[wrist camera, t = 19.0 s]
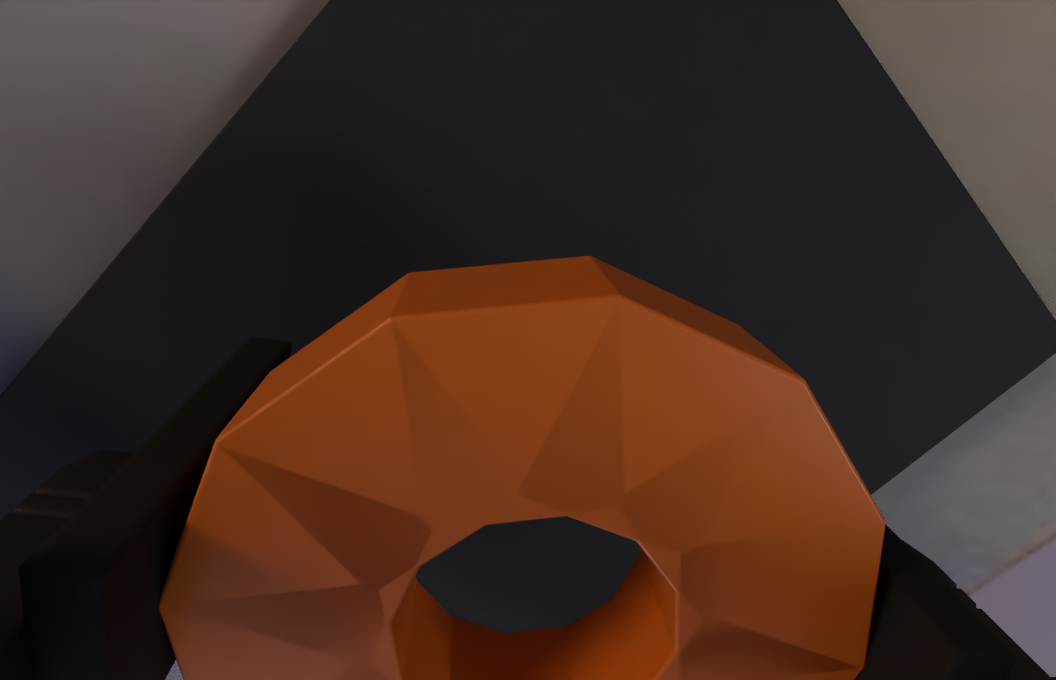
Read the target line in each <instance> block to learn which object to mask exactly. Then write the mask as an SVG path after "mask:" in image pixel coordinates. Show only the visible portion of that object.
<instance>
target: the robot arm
mask: <svg viewBox="0 0 1056 680" xmlns="http://www.w3.org/2000/svg"><path fill="white" fill-rule="evenodd" d="M291 350H292V342H288V341H280V340H273V339H266V338H259V337H251V338H250V339H249V340H248V341H247V342H245V343H244V344H243V345H242V346H241V347H240V348H239V349H238V350H237V351H236V352H235V353H234V354H233V355H232V356H231V357H230V358H229V359H228V360H227V361H226V362H225V363H224V364H223V365H222V366H221V367H220V368H219V369H218V370H217V371H216V372H215V373H214V374H213V375H212V376H211V377H210V378H209V379H208V380H207V381H206V382H205V383H204V384H203V385H202V386H201V387H200V388H199V389H198V390H197V391H196V392H195V393H194V394H193V395H192V396H191V397H190V398H189V399H188V400H187V401H186V402H185V403H184V404H183V405H182V406H181V407H180V408H179V409H178V410H177V411H176V412H175V413H174V414H173V415H172V416H171V417H170V418H169V419H168V420H167V421H166V422H165V423H164V424H163V425H162V426H161V427H160V428H159V429H158V430H157V431H156V432H155V433H154V434H153V435H152V436H151V437H150V438H149V439H148V440H147V441H146V442H145V443H144V444H143V445H142V446H141V447H140V448H139V449H138V450H137V451H136V452H134V453H124V452H115V451H106V450H98V451H96V452H94V453H92V454H89V455H87V456H85V457H83V458H81V459H79V460H76V461H74V462H72V463H70V464H68V465H65V466H63V467H62V468H61V469H60V470H58V471H57V472H56V473H55V474H54V475H53V476H51V477H50V478H49V479H48V480H47V481H46V482H44V483H43V484H42V485H41V486H40V487H39V488H37V491H36V493H35V494H30V495H29V496H28V497H27V498H26V499H25V500H23V501H22V502H21V503H20V504H19V505H17V506H16V507H15V509H14V512H13V513H8V514H7V515H6V516H5V517H3V518H2V519H1V520H0V680H165V678H166V676H167V675H168V673H169V671H170V669H171V667H172V666H173V664H174V662H175V660H176V657H175V654H174V651H173V648H172V646H171V643H170V640H169V637H168V634H167V632H166V629H165V626H164V623H163V621H162V618H161V615H160V612H159V601H160V596H161V591H162V588H163V585H164V583H165V580H166V577H167V574H168V571H169V569H170V566H171V563H172V560H173V557H174V555H175V552H176V549H177V546H178V543H179V541H180V538H181V535H182V532H183V529H184V527H185V524H186V521H187V518H188V515H189V513H190V510H191V507H192V504H193V501H194V498H195V496H196V493H197V490H198V487H199V484H200V482H201V479H202V476H203V473H204V470H205V468H206V465H207V462H208V459H209V456H210V454H211V451H212V448H213V445H214V442H215V440H216V438H217V437H218V436H219V434H220V433H221V432H222V431H223V429H224V428H225V427H226V426H227V425H228V423H229V422H230V421H231V420H232V418H233V417H234V416H235V415H236V413H237V412H238V411H239V410H240V408H241V407H242V406H243V405H244V403H245V402H246V401H247V400H248V398H249V397H250V396H251V395H252V394H253V392H254V391H255V390H256V389H257V387H258V386H259V385H260V384H261V382H262V381H263V380H264V379H265V377H266V376H267V375H268V374H269V372H270V371H272V370H273V369H274V368H276V367H277V366H279V365H280V364H281V363H283V362H284V361H286V360H287V359H288V358H290V357H291ZM855 680H1056V677H1050V676H1049V675H1048V674H1046V672H1045V671H1044V670H1043V669H1041V668H1040V667H1039V666H1038V665H1037V664H1036V663H1035V662H1034V661H1033V660H1032V659H1031V658H1030V657H1029V656H1028V655H1027V654H1026V653H1025V652H1024V651H1023V650H1022V649H1021V648H1020V647H1019V646H1018V645H1017V644H1016V643H1015V642H1014V641H1013V640H1012V639H1011V638H1010V637H1009V636H1008V635H1007V634H1006V633H1005V632H1004V631H1003V630H1002V629H1001V628H1000V627H999V626H998V625H997V624H996V623H995V622H994V621H993V620H992V619H991V618H990V617H989V616H988V615H987V614H986V613H985V612H984V611H983V610H982V609H977V608H976V603H975V602H974V601H973V600H972V599H971V598H970V597H969V596H968V595H967V594H966V593H965V592H964V591H963V590H962V589H957V588H956V584H955V583H954V582H953V581H952V580H951V579H950V578H949V577H948V576H947V575H946V574H945V573H944V572H943V571H942V570H941V569H940V568H939V567H938V566H937V565H936V564H935V563H934V562H933V561H932V560H930V559H929V558H927V557H926V556H925V555H923V554H922V553H920V552H919V551H917V550H916V549H914V548H913V547H911V546H910V545H909V544H907V543H906V542H904V541H903V540H901V539H900V538H899V537H898V536H897V535H896V534H895V533H894V532H893V531H892V530H891V529H890V528H889V527H888V526H887V525H886V524H885V531H884V538H883V545H882V552H881V559H880V566H879V573H878V580H877V587H876V594H875V601H874V608H873V615H872V622H871V629H870V636H869V643H868V650H867V657H866V663H865V666H864V668H863V669H862V671H861V672H860V673H859V675H858V676H857V677H856V678H855Z"/></svg>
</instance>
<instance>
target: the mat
mask: <svg viewBox="0 0 1056 680" xmlns="http://www.w3.org/2000/svg"><path fill="white" fill-rule="evenodd" d="M580 256H592V257H594V258H596V259H599V260H601V261H603V262H605V263H607V264H609V265H611V266H614V267H616V268H618V269H620V270H622V271H624V272H626V273H629V274H631V275H633V276H635V277H637V278H639V279H641V280H644V281H646V282H648V283H650V284H652V285H654V286H656V287H659V288H661V289H663V290H665V291H667V292H669V293H671V294H674V295H676V296H678V297H680V298H682V299H684V300H686V301H689V302H691V303H693V304H695V305H697V306H699V307H701V308H704V309H706V310H708V311H710V312H712V313H714V314H716V315H719V316H721V317H723V318H725V319H727V320H729V321H731V322H734V323H736V324H738V325H739V326H741V327H742V328H743V329H744V330H745V331H747V332H748V333H749V334H750V335H752V336H753V337H754V338H755V339H756V340H758V341H759V342H760V343H761V344H762V345H764V346H765V347H766V348H767V349H769V350H770V351H771V352H772V353H773V354H775V355H776V356H777V357H778V358H780V359H781V360H782V361H783V362H784V363H786V364H787V365H788V366H789V367H791V368H792V369H793V370H794V371H795V372H797V373H798V374H799V375H800V376H802V377H803V378H804V379H805V381H806V382H807V384H808V386H809V388H810V389H811V391H812V393H813V395H814V396H815V398H816V400H817V402H818V403H819V405H820V407H821V409H822V410H823V412H824V414H825V416H826V417H827V419H828V421H829V423H830V424H831V426H832V428H833V430H834V431H835V433H836V435H837V437H838V438H839V440H840V442H841V444H842V445H843V447H844V449H845V451H846V452H847V454H848V456H849V458H850V459H851V461H852V463H853V465H854V466H855V468H856V470H857V472H858V473H859V475H860V477H861V479H862V480H863V482H864V484H865V486H866V487H867V489H868V491H869V493H870V494H873V493H874V492H875V491H876V490H878V489H879V488H880V487H882V486H883V485H884V484H886V483H887V482H888V481H890V480H891V479H892V478H893V477H895V476H896V475H897V474H899V473H900V472H901V471H903V470H904V469H905V468H906V467H908V466H909V465H910V464H912V463H913V462H914V461H916V460H917V459H918V458H919V457H921V456H922V455H923V454H925V453H926V452H927V451H929V450H930V449H931V448H932V447H934V446H935V445H936V444H938V443H939V442H940V441H942V440H943V439H944V438H946V437H947V436H948V435H949V434H951V433H952V432H953V431H955V430H956V429H957V428H959V427H960V426H961V425H962V424H964V423H965V422H966V421H968V420H969V419H970V418H972V417H973V416H974V415H975V414H977V413H978V412H979V411H981V410H982V409H983V408H985V407H986V406H987V405H989V404H990V403H991V402H992V401H994V400H995V399H996V398H998V397H999V396H1000V395H1002V394H1003V393H1004V392H1005V391H1007V390H1008V389H1009V388H1011V387H1012V386H1013V385H1015V384H1016V383H1017V382H1018V381H1020V380H1021V379H1022V378H1024V377H1025V376H1026V375H1028V374H1029V373H1030V372H1031V371H1033V370H1034V369H1035V368H1037V367H1038V366H1039V365H1041V364H1042V363H1043V362H1045V361H1046V360H1047V359H1048V358H1050V357H1051V356H1052V355H1054V354H1055V353H1056V320H1055V319H1054V317H1053V316H1052V315H1051V313H1050V312H1049V310H1048V309H1047V307H1046V306H1045V304H1044V303H1043V301H1042V300H1041V298H1040V297H1039V296H1038V294H1037V293H1036V291H1035V290H1034V288H1033V287H1032V285H1031V284H1030V282H1029V281H1028V279H1027V278H1026V276H1025V275H1024V274H1023V272H1022V271H1021V269H1020V268H1019V266H1018V265H1017V263H1016V262H1015V260H1014V259H1013V257H1012V256H1011V255H1010V253H1009V252H1008V250H1007V249H1006V247H1005V246H1004V244H1003V243H1002V241H1001V240H1000V238H999V237H998V235H997V234H996V233H995V231H994V230H993V228H992V227H991V225H990V224H989V222H988V221H987V219H986V218H985V216H984V215H983V213H982V212H981V211H980V209H979V208H978V206H977V205H976V203H975V202H974V200H973V199H972V197H971V196H970V194H969V193H968V192H967V190H966V189H965V187H964V186H963V184H962V183H961V181H960V180H959V178H958V177H957V175H956V174H955V172H954V171H953V170H952V168H951V167H950V165H949V164H948V162H947V161H946V159H945V158H944V156H943V155H942V153H941V152H940V151H939V149H938V148H937V146H936V145H935V143H934V142H933V140H932V139H931V137H930V136H929V134H928V133H927V131H926V130H925V129H924V127H923V126H922V124H921V123H920V121H919V120H918V118H917V117H916V115H915V114H914V112H913V111H912V110H911V108H910V107H909V105H908V104H907V102H906V101H905V99H904V98H903V96H902V95H901V93H900V92H899V90H898V89H897V88H896V86H895V85H894V83H893V82H892V80H891V79H890V77H889V76H888V74H887V73H886V71H885V70H884V69H883V67H882V66H881V64H880V63H879V61H878V60H877V58H876V57H875V55H874V54H873V52H872V51H871V49H870V48H869V47H868V45H867V44H866V42H865V41H864V39H863V38H862V36H861V35H860V33H859V32H858V30H857V29H856V28H855V26H854V25H853V23H852V22H851V20H850V19H849V17H848V16H847V14H846V13H845V11H844V10H843V8H842V7H841V6H840V4H839V3H838V1H837V0H330V1H329V2H328V3H327V5H326V6H325V7H324V8H323V9H322V11H321V12H320V13H319V14H318V15H317V17H316V18H315V19H314V20H313V21H312V23H311V24H310V25H309V26H308V27H307V29H306V30H305V31H304V32H303V33H302V35H301V36H300V37H299V38H298V39H297V41H296V42H295V43H294V44H293V45H292V47H291V48H290V49H289V50H288V51H287V53H286V54H285V55H284V56H283V57H282V59H281V60H280V61H279V62H278V63H277V65H276V66H275V67H274V68H273V69H272V71H271V72H270V73H269V74H268V75H267V77H266V78H265V79H264V80H263V81H262V83H261V84H260V85H259V86H258V87H257V89H256V90H255V91H254V92H253V93H252V95H251V96H250V97H249V98H248V99H247V101H246V102H245V103H244V104H243V105H242V107H241V108H240V109H239V110H238V111H237V113H236V114H235V115H234V116H233V117H232V119H231V120H230V121H229V122H228V123H227V125H226V126H225V127H224V128H223V129H222V131H221V132H220V133H219V134H218V135H217V137H216V138H215V139H214V140H213V141H212V143H211V144H210V145H209V146H208V147H207V149H206V150H205V151H204V152H203V153H202V155H201V156H200V157H199V158H198V159H197V161H196V162H195V163H194V164H193V165H192V167H191V168H190V169H189V170H188V171H187V173H186V174H185V175H184V176H183V177H182V179H181V180H180V181H179V182H178V183H177V185H176V186H175V187H174V188H173V189H172V191H171V192H170V193H169V194H168V195H167V197H166V198H165V199H164V200H163V201H162V203H161V204H160V205H159V206H158V207H157V209H156V210H155V211H154V212H153V213H152V215H151V216H150V217H149V218H148V219H147V221H146V222H145V223H144V224H143V225H142V227H141V228H140V229H139V230H138V231H137V233H136V234H135V235H134V236H133V237H132V239H131V240H130V241H129V242H128V243H127V245H126V246H125V247H124V248H123V249H122V251H121V252H120V253H119V254H118V255H117V257H116V258H115V259H114V260H113V261H112V263H111V264H110V265H109V266H108V267H107V269H106V270H105V271H104V272H103V273H102V275H101V276H100V277H99V278H98V279H97V281H96V282H95V283H94V284H93V285H92V287H91V288H90V289H89V290H88V291H87V293H86V294H85V295H84V296H83V297H82V299H81V300H80V301H79V302H78V303H77V305H76V306H75V307H74V308H73V309H72V311H71V312H70V313H69V314H68V315H67V317H66V318H65V319H64V320H63V321H62V323H61V324H60V325H59V326H58V327H57V329H56V330H55V331H54V332H53V333H52V335H51V336H50V337H49V338H48V339H47V341H46V342H45V343H44V344H43V345H42V347H41V348H40V349H39V350H38V351H37V353H36V354H35V355H34V356H33V357H32V359H31V360H30V361H29V362H28V363H27V365H26V366H25V367H24V368H23V369H22V371H21V372H20V373H19V374H18V375H17V377H16V378H15V379H14V380H13V381H12V383H11V384H10V385H9V386H8V387H7V389H6V390H5V391H4V392H3V393H2V395H1V396H0V520H1V519H2V518H3V517H5V516H6V515H7V514H8V513H13V512H14V509H15V507H16V506H17V505H19V504H20V503H21V502H22V501H23V500H25V499H26V498H27V497H28V496H29V495H30V494H35V493H36V491H37V488H39V487H40V486H41V485H42V484H43V483H44V482H46V481H47V480H48V479H49V478H50V477H51V476H53V475H54V474H55V473H56V472H57V471H58V470H60V469H61V468H62V467H63V466H65V465H68V464H70V463H72V462H74V461H76V460H79V459H81V458H83V457H85V456H87V455H89V454H92V453H94V452H96V451H98V450H106V451H115V452H124V453H134V452H136V451H137V450H138V449H139V448H140V447H141V446H142V445H143V444H144V443H145V442H146V441H147V440H148V439H149V438H150V437H151V436H152V435H153V434H154V433H155V432H156V431H157V430H158V429H159V428H160V427H161V426H162V425H163V424H164V423H165V422H166V421H167V420H168V419H169V418H170V417H171V416H172V415H173V414H174V413H175V412H176V411H177V410H178V409H179V408H180V407H181V406H182V405H183V404H184V403H185V402H186V401H187V400H188V399H189V398H190V397H191V396H192V395H193V394H194V393H195V392H196V391H197V390H198V389H199V388H200V387H201V386H202V385H203V384H204V383H205V382H206V381H207V380H208V379H209V378H210V377H211V376H212V375H213V374H214V373H215V372H216V371H217V370H218V369H219V368H220V367H221V366H222V365H223V364H224V363H225V362H226V361H227V360H228V359H229V358H230V357H231V356H232V355H233V354H234V353H235V352H236V351H237V350H238V349H239V348H240V347H241V346H242V345H243V344H244V343H245V342H247V341H248V340H249V339H250V338H251V337H259V338H266V339H273V340H280V341H288V342H292V350H291V356H293V355H294V354H295V353H297V352H298V351H300V350H301V349H302V348H304V347H305V346H307V345H308V344H309V343H311V342H312V341H314V340H315V339H317V338H318V337H319V336H321V335H322V334H324V333H325V332H326V331H328V330H329V329H331V328H332V327H333V326H335V325H336V324H338V323H339V322H340V321H342V320H343V319H345V318H346V317H347V316H349V315H350V314H352V313H353V312H354V311H356V310H357V309H359V308H360V307H361V306H363V305H364V304H366V303H367V302H368V301H370V300H371V299H373V298H374V297H375V296H377V295H378V294H380V293H381V292H382V291H384V290H385V289H387V288H388V287H389V286H391V285H392V284H394V283H395V282H396V281H398V280H399V279H401V278H402V277H403V276H405V275H406V274H408V273H411V272H420V271H430V270H441V269H452V268H463V267H473V266H484V265H495V264H505V263H516V262H527V261H537V260H548V259H559V258H569V257H580ZM639 555H640V546H639V544H638V543H637V542H636V541H634V540H631V539H628V538H626V537H623V536H620V535H617V534H615V533H612V532H609V531H607V530H604V529H601V528H598V527H596V526H593V525H590V524H587V523H585V522H582V521H579V520H576V519H574V518H571V517H568V516H563V517H554V518H545V519H536V520H527V521H518V522H509V523H500V524H491V525H485V526H484V527H482V528H480V529H479V530H477V531H476V532H474V533H472V534H471V535H469V536H468V537H466V538H465V539H463V540H461V541H460V542H458V543H457V544H455V545H453V546H452V547H450V548H449V549H447V550H445V551H444V552H442V553H441V554H439V555H438V556H436V557H434V558H433V559H431V560H430V561H428V562H426V563H425V564H423V565H422V566H420V568H419V570H418V572H417V574H416V579H417V581H418V582H419V583H420V584H421V585H422V586H423V587H424V588H425V589H426V590H427V591H428V592H429V593H430V594H431V595H432V596H433V597H434V598H435V599H436V601H437V602H438V603H439V604H440V605H441V606H442V607H443V608H444V609H445V610H446V611H447V612H448V613H449V614H450V615H451V616H452V617H455V618H458V619H461V620H465V621H468V622H471V623H474V624H477V625H481V626H484V627H487V628H490V629H493V630H496V631H500V632H503V633H512V632H520V631H529V630H537V629H546V628H554V627H562V626H568V625H569V624H571V623H573V622H574V621H576V620H578V619H579V618H581V617H583V616H584V615H586V614H588V613H590V612H591V611H593V610H595V609H596V608H598V607H600V606H601V605H603V604H605V603H607V602H608V601H610V600H612V598H613V597H614V595H615V593H616V592H617V590H618V589H619V587H620V586H621V584H622V582H623V581H624V579H625V578H626V576H627V574H628V573H629V571H630V570H631V568H632V566H633V565H634V563H635V562H636V560H637V558H638V557H639Z"/></svg>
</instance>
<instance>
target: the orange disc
mask: <svg viewBox="0 0 1056 680" xmlns="http://www.w3.org/2000/svg"><path fill="white" fill-rule="evenodd" d="M563 516H568V517H571V518H574V519H576V520H579V521H582V522H585V523H587V524H590V525H593V526H596V527H598V528H601V529H604V530H607V531H609V532H612V533H615V534H617V535H620V536H623V537H626V538H628V539H631V540H634V541H636V542H637V543H638V544H639V546H640V555H639V557H638V558H637V560H636V562H635V563H634V565H633V566H632V568H631V570H630V571H629V573H628V574H627V576H626V578H625V579H624V581H623V582H622V584H621V586H620V587H619V589H618V590H617V592H616V593H615V595H614V597H613V598H612V600H610V601H608V602H607V603H605V604H603V605H601V606H600V607H598V608H596V609H595V610H593V611H591V612H590V613H588V614H586V615H584V616H583V617H581V618H579V619H578V620H576V621H574V622H573V623H571V624H569V625H568V626H562V627H554V628H546V629H537V630H529V631H520V632H512V633H503V632H500V631H496V630H493V629H490V628H487V627H484V626H481V625H477V624H474V623H471V622H468V621H465V620H461V619H458V618H455V617H452V616H451V615H450V614H449V613H448V612H447V611H446V610H445V609H444V608H443V607H442V606H441V605H440V604H439V603H438V602H437V601H436V599H435V598H434V597H433V596H432V595H431V594H430V593H429V592H428V591H427V590H426V589H425V588H424V587H423V586H422V585H421V584H420V583H419V582H418V581H417V579H416V574H417V572H418V570H419V568H420V566H422V565H423V564H425V563H426V562H428V561H430V560H431V559H433V558H434V557H436V556H438V555H439V554H441V553H442V552H444V551H445V550H447V549H449V548H450V547H452V546H453V545H455V544H457V543H458V542H460V541H461V540H463V539H465V538H466V537H468V536H469V535H471V534H472V533H474V532H476V531H477V530H479V529H480V528H482V527H484V526H485V525H491V524H500V523H509V522H518V521H527V520H536V519H545V518H554V517H563ZM885 524H886V523H885V519H884V517H883V515H882V514H881V512H880V510H879V508H878V507H877V505H876V503H875V501H874V500H873V498H872V496H871V494H870V493H869V491H868V489H867V487H866V486H865V484H864V482H863V480H862V479H861V477H860V475H859V473H858V472H857V470H856V468H855V466H854V465H853V463H852V461H851V459H850V458H849V456H848V454H847V452H846V451H845V449H844V447H843V445H842V444H841V442H840V440H839V438H838V437H837V435H836V433H835V431H834V430H833V428H832V426H831V424H830V423H829V421H828V419H827V417H826V416H825V414H824V412H823V410H822V409H821V407H820V405H819V403H818V402H817V400H816V398H815V396H814V395H813V393H812V391H811V389H810V388H809V386H808V384H807V382H806V381H805V379H804V378H803V377H802V376H800V375H799V374H798V373H797V372H795V371H794V370H793V369H792V368H791V367H789V366H788V365H787V364H786V363H784V362H783V361H782V360H781V359H780V358H778V357H777V356H776V355H775V354H773V353H772V352H771V351H770V350H769V349H767V348H766V347H765V346H764V345H762V344H761V343H760V342H759V341H758V340H756V339H755V338H754V337H753V336H752V335H750V334H749V333H748V332H747V331H745V330H744V329H743V328H742V327H741V326H739V325H738V324H736V323H734V322H731V321H729V320H727V319H725V318H723V317H721V316H719V315H716V314H714V313H712V312H710V311H708V310H706V309H704V308H701V307H699V306H697V305H695V304H693V303H691V302H689V301H686V300H684V299H682V298H680V297H678V296H676V295H674V294H671V293H669V292H667V291H665V290H663V289H661V288H659V287H656V286H654V285H652V284H650V283H648V282H646V281H644V280H641V279H639V278H637V277H635V276H633V275H631V274H629V273H626V272H624V271H622V270H620V269H618V268H616V267H614V266H611V265H609V264H607V263H605V262H603V261H601V260H599V259H596V258H594V257H592V256H580V257H569V258H559V259H548V260H537V261H527V262H516V263H505V264H495V265H484V266H473V267H463V268H452V269H441V270H430V271H420V272H411V273H408V274H406V275H405V276H403V277H402V278H401V279H399V280H398V281H396V282H395V283H394V284H392V285H391V286H389V287H388V288H387V289H385V290H384V291H382V292H381V293H380V294H378V295H377V296H375V297H374V298H373V299H371V300H370V301H368V302H367V303H366V304H364V305H363V306H361V307H360V308H359V309H357V310H356V311H354V312H353V313H352V314H350V315H349V316H347V317H346V318H345V319H343V320H342V321H340V322H339V323H338V324H336V325H335V326H333V327H332V328H331V329H329V330H328V331H326V332H325V333H324V334H322V335H321V336H319V337H318V338H317V339H315V340H314V341H312V342H311V343H309V344H308V345H307V346H305V347H304V348H302V349H301V350H300V351H298V352H297V353H295V354H294V355H293V356H291V357H290V358H288V359H287V360H286V361H284V362H283V363H281V364H280V365H279V366H277V367H276V368H274V369H273V370H272V371H270V372H269V374H268V375H267V376H266V377H265V379H264V380H263V381H262V382H261V384H260V385H259V386H258V387H257V389H256V390H255V391H254V392H253V394H252V395H251V396H250V397H249V398H248V400H247V401H246V402H245V403H244V405H243V406H242V407H241V408H240V410H239V411H238V412H237V413H236V415H235V416H234V417H233V418H232V420H231V421H230V422H229V423H228V425H227V426H226V427H225V428H224V429H223V431H222V432H221V433H220V434H219V436H218V437H217V438H216V440H215V442H214V445H213V448H212V451H211V454H210V456H209V459H208V462H207V465H206V468H205V470H204V473H203V476H202V479H201V482H200V484H199V487H198V490H197V493H196V496H195V498H194V501H193V504H192V507H191V510H190V513H189V515H188V518H187V521H186V524H185V527H184V529H183V532H182V535H181V538H180V541H179V543H178V546H177V549H176V552H175V555H174V557H173V560H172V563H171V566H170V569H169V571H168V574H167V577H166V580H165V583H164V585H163V588H162V591H161V596H160V601H159V612H160V615H161V618H162V621H163V623H164V626H165V629H166V632H167V634H168V637H169V640H170V643H171V646H172V648H173V651H174V654H175V657H176V660H177V662H178V665H179V668H180V671H181V674H182V676H183V679H184V680H855V678H856V677H857V676H858V675H859V673H860V672H861V671H862V669H863V668H864V666H865V663H866V657H867V650H868V643H869V636H870V629H871V622H872V615H873V608H874V601H875V594H876V587H877V580H878V573H879V566H880V559H881V552H882V545H883V538H884V531H885Z"/></svg>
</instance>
